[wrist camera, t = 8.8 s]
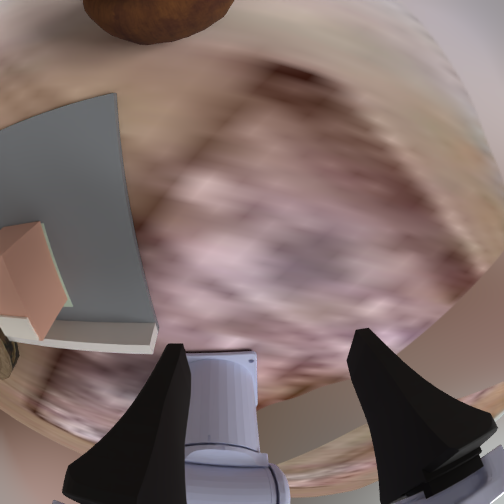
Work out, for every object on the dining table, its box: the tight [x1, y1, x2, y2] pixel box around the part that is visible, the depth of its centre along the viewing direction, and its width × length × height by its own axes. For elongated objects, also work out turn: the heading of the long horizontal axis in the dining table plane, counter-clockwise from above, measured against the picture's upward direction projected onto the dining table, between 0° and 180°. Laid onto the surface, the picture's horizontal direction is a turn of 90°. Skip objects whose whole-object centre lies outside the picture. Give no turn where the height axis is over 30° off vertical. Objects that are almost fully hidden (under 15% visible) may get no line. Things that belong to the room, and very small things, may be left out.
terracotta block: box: [0, 221, 67, 341], centre depth 16 cm, size 4×7×5 cm, turn 1°
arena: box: [0, 93, 159, 354], centre depth 17 cm, size 18×16×3 cm
